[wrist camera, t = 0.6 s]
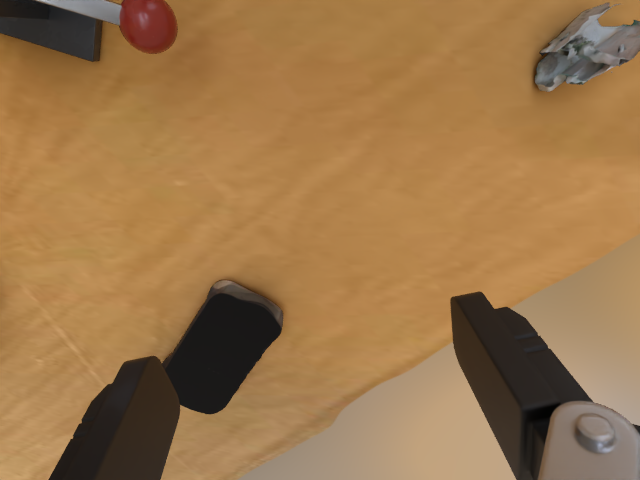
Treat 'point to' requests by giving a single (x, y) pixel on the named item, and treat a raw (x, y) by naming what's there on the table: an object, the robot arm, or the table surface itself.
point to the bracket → (52, 27)
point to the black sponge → (222, 346)
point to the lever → (131, 20)
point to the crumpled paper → (586, 50)
